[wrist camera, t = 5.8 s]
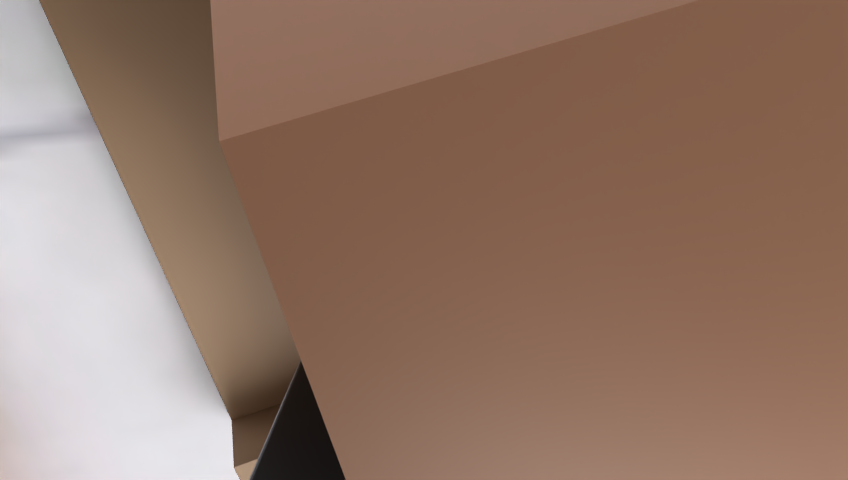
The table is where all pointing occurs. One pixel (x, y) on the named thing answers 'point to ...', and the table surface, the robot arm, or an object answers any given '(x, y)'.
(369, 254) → the light orange box
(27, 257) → the table surface
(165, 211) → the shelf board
